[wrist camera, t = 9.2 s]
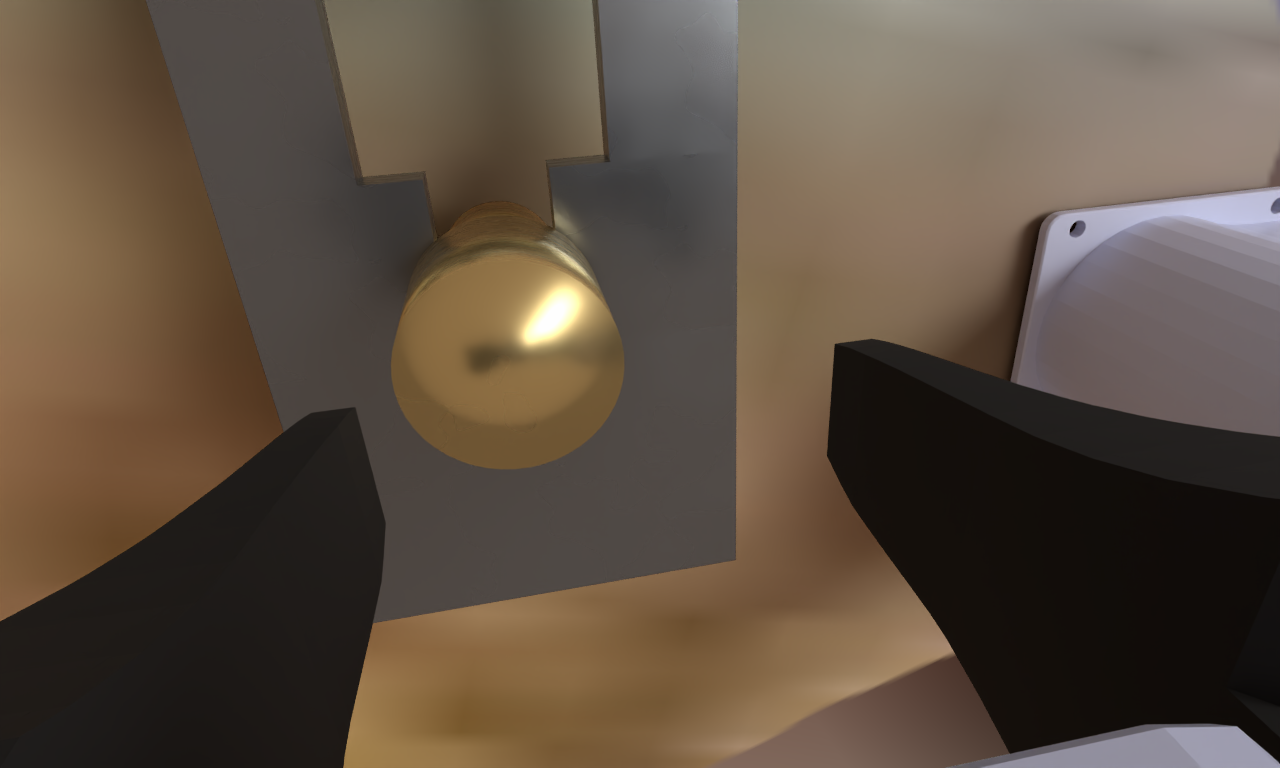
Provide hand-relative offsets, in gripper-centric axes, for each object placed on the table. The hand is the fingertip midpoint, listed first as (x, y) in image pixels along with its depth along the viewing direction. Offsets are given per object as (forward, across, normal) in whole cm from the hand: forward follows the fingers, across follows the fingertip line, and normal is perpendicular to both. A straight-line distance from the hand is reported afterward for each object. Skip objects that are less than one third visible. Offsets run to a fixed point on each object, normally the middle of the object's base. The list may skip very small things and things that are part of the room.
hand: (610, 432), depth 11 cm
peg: (+9, +1, 0) cm, 9 cm away
